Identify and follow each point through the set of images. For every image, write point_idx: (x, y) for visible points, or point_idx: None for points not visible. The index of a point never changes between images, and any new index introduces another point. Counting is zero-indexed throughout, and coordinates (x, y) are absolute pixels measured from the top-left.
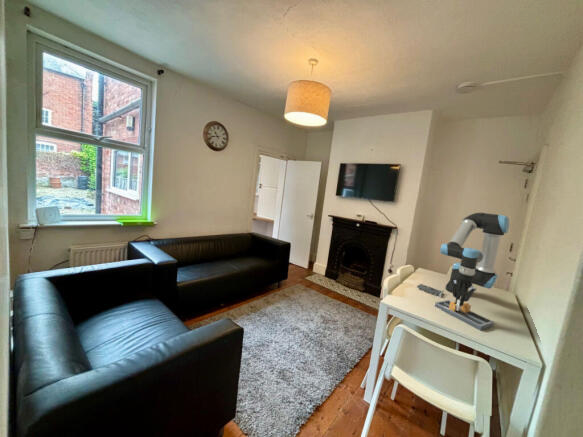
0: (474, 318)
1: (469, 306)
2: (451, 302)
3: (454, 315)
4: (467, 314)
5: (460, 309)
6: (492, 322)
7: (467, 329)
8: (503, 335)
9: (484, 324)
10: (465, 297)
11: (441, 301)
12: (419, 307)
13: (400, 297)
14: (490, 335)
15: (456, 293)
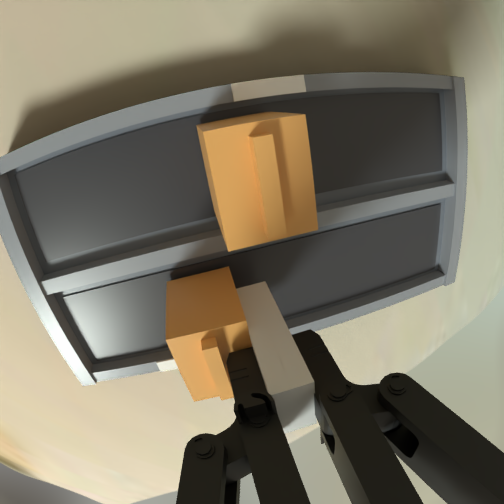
0: (381, 209)
1: (303, 157)
2: (200, 392)
3: None
4: (320, 224)
5: (215, 213)
6: (465, 110)
7: (392, 340)
8: (490, 143)
9: (459, 240)
10: (408, 465)
11: (39, 309)
12: (137, 447)
13: (37, 456)
14: (467, 243)
15: (219, 492)
